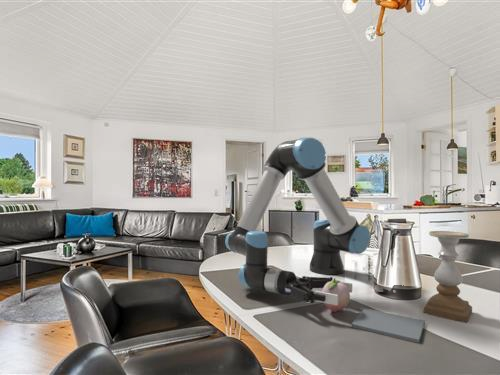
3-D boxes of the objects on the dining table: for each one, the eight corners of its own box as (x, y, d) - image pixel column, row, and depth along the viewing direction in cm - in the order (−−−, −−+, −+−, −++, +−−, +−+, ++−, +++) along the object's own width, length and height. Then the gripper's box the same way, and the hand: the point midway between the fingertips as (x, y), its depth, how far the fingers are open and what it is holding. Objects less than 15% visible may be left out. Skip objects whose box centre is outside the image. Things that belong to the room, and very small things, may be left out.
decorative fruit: (348, 320, 91) (348, 284, 91) (319, 315, 94) (319, 281, 94) (351, 308, 100) (351, 276, 100) (324, 304, 103) (324, 273, 103)
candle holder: (472, 312, 98) (473, 233, 98) (466, 323, 89) (467, 236, 90) (432, 303, 105) (432, 229, 105) (422, 312, 97) (423, 232, 97)
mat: (351, 326, 86) (351, 323, 86) (364, 310, 98) (364, 308, 98) (418, 343, 77) (418, 339, 77) (424, 323, 89) (424, 320, 89)
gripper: (261, 278, 96) (330, 291, 85) (297, 263, 117) (357, 272, 105) (261, 304, 96) (330, 320, 85) (297, 284, 117) (357, 295, 105)
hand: (345, 293), depth 95 cm, fingers open, 13 cm apart
